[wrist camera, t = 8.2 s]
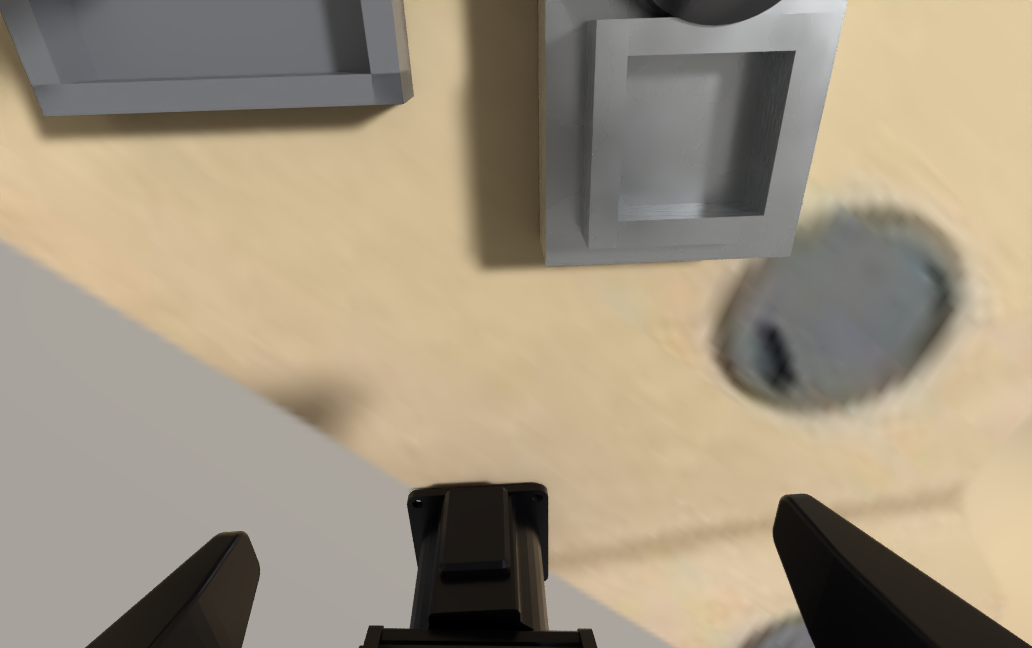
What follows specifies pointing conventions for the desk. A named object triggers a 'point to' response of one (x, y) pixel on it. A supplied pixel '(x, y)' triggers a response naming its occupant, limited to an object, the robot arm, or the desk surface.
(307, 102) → the tray
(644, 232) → the tensioner block
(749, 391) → the desk surface
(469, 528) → the robot arm
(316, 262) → the desk surface
